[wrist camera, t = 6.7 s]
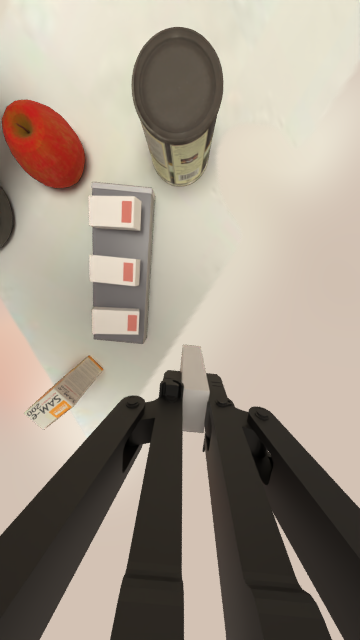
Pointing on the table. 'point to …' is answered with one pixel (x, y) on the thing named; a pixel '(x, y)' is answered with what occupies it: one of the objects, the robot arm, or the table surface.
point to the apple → (43, 143)
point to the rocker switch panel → (126, 247)
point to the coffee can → (178, 101)
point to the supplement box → (64, 394)
